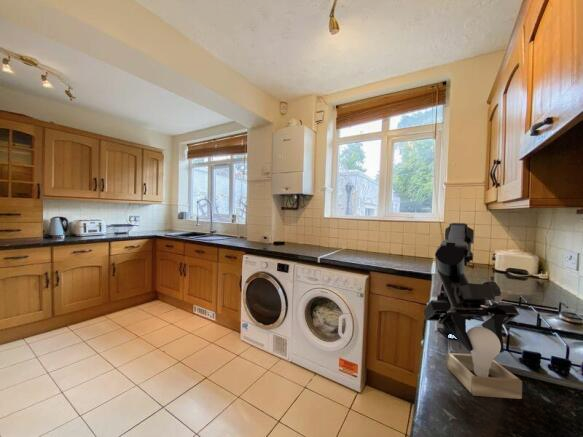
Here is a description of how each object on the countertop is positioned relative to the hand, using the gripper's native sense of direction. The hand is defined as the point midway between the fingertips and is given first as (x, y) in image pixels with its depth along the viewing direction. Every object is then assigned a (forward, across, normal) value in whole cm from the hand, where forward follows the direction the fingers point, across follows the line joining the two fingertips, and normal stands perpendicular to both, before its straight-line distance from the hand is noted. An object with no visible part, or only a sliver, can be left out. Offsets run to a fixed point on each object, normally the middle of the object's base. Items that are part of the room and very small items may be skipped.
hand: (486, 351), depth 52 cm
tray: (+4, 0, +6) cm, 7 cm away
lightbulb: (+4, 0, +6) cm, 7 cm away
